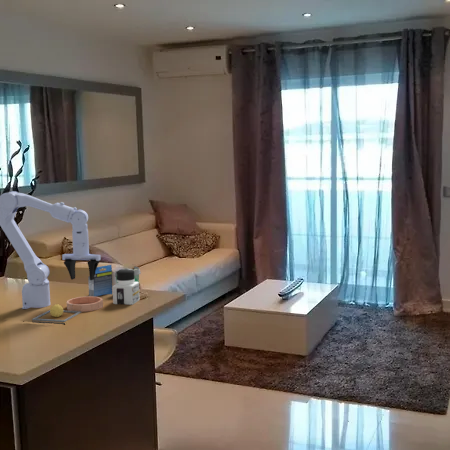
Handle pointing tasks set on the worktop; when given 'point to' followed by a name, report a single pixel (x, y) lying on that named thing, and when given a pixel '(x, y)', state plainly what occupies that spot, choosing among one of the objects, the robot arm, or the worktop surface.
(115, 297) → the container
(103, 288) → the label tape box
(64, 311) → the tray
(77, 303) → the bowl
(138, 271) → the food container
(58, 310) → the ball
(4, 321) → the worktop surface
